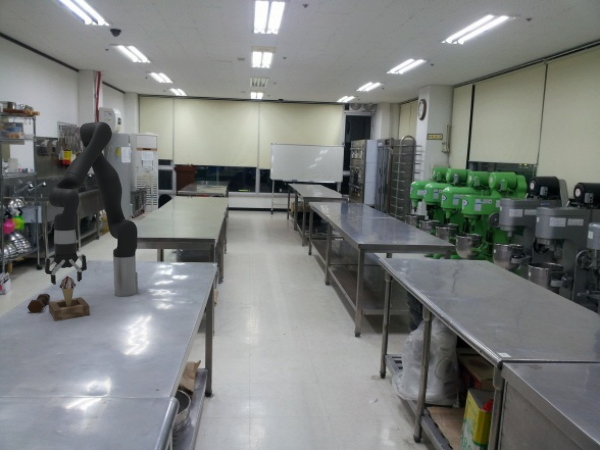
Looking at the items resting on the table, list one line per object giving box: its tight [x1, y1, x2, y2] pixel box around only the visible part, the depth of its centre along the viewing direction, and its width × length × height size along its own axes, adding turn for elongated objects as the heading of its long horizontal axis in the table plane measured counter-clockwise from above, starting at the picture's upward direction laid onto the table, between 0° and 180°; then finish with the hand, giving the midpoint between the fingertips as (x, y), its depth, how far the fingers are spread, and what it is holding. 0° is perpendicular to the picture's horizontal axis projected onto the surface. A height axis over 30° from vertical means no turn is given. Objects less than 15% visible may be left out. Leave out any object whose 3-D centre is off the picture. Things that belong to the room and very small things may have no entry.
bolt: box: [27, 293, 51, 314], centre depth 191 cm, size 6×5×15 cm
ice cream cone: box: [59, 275, 77, 307], centre depth 183 cm, size 6×6×15 cm
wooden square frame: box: [48, 296, 90, 322], centre depth 184 cm, size 12×12×4 cm
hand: (66, 282), depth 182 cm, fingers open, 8 cm apart
